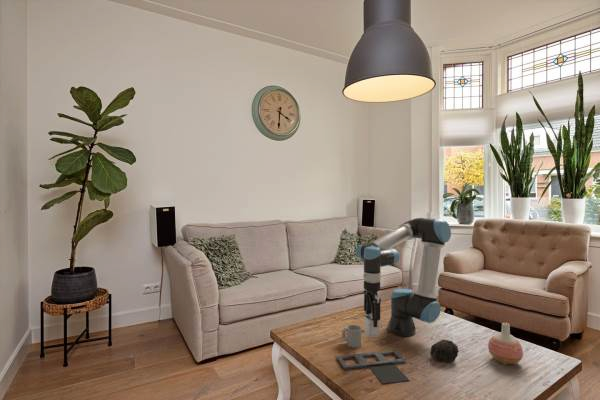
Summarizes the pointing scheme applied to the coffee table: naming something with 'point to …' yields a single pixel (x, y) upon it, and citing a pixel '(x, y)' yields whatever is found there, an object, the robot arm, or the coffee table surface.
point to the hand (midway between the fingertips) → (371, 330)
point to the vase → (505, 346)
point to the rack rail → (363, 364)
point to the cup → (352, 336)
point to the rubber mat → (389, 374)
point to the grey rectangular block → (369, 327)
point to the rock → (444, 351)
